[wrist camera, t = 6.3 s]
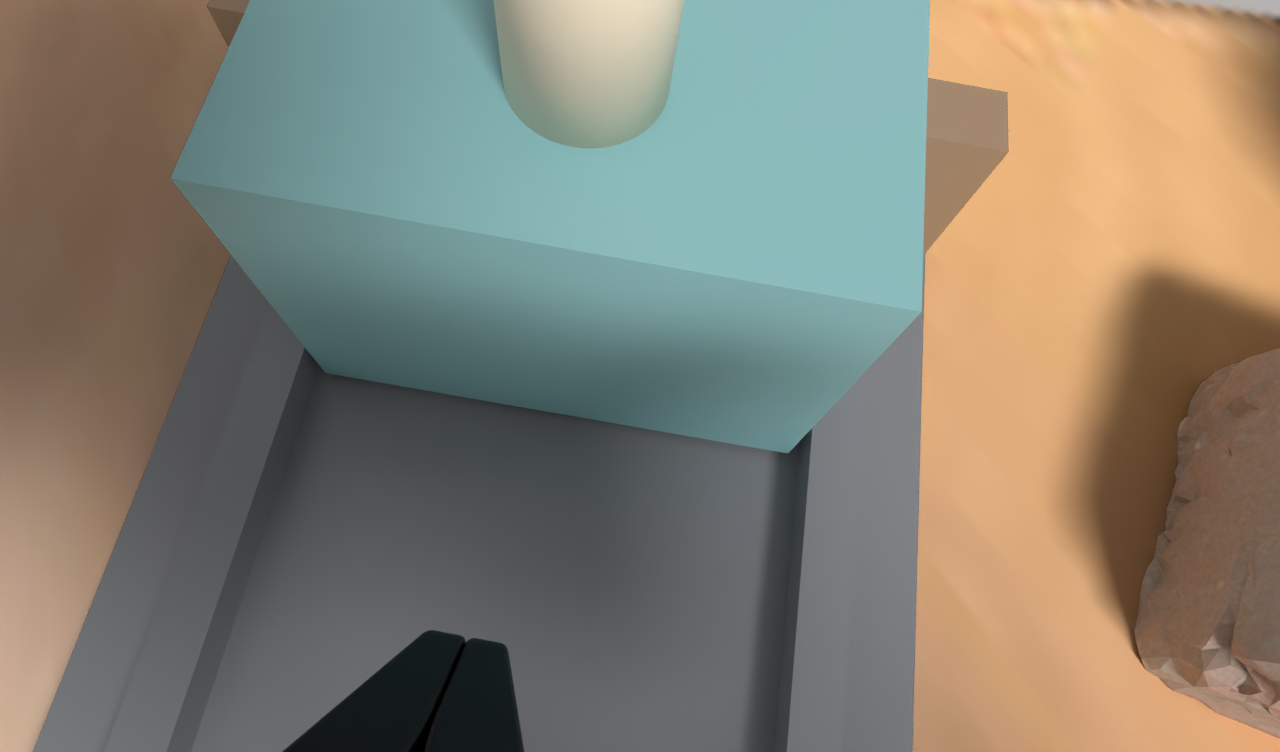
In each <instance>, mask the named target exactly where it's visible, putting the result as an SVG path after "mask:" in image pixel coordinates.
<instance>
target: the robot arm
mask: <svg viewBox="0 0 1280 752" xmlns="http://www.w3.org/2000/svg"><path fill="white" fill-rule="evenodd" d="M282 752H524V746H523V740H522V733H521V727H520V721H519V714H518V708H517V702H516V696H515V689H514V683H513V677H512V671H511V664H510V658H509V652H508V648H507V647H506V645H505V644H503V643H499V642H494V641H489V640H483V639H478V638H471V639H469V640H468V641H467V642H466V640H465V638H464V637H463V636H461V635H457V634H452V633H446V632H441V631H436V630H428V631H426V632H424V633H422V634H421V635H420V636H419V637H418V638H416V639H415V640H414V641H413V642H412V643H410V644H409V645H408V646H407V647H406V648H405V649H403V650H402V651H401V652H400V653H399V654H397V655H396V656H395V657H394V658H393V659H391V660H390V661H389V662H388V663H387V664H385V665H384V666H383V667H382V668H381V669H380V670H378V671H377V672H376V673H375V674H374V675H372V676H371V677H370V678H369V679H368V680H366V681H365V682H364V683H363V684H362V685H361V686H359V687H358V688H357V689H356V690H355V691H353V692H352V693H351V694H350V695H349V696H347V697H346V698H345V699H344V700H343V701H342V702H340V703H339V704H338V705H337V706H336V707H334V708H333V709H332V710H331V711H330V712H328V713H327V714H326V715H325V716H324V717H322V718H321V719H320V720H319V721H318V722H317V723H315V724H314V725H313V726H312V727H311V728H309V729H308V730H307V731H306V732H305V733H303V734H302V735H301V736H300V737H299V738H298V739H296V740H295V741H294V742H293V743H292V744H290V745H289V746H288V747H287V748H286V749H284V750H283V751H282Z"/></svg>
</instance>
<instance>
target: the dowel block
mask: <svg viewBox="0 0 1280 752" xmlns="http://www.w3.org/2000/svg"><path fill="white" fill-rule="evenodd" d="M929 18H930V0H250V2H249V4H248V6H247V8H246V11H245V13H244V15H243V17H242V20H241V22H240V24H239V26H238V28H237V31H236V33H235V35H234V37H233V40H232V42H231V44H230V46H229V48H228V51H227V53H226V55H225V57H224V60H223V62H222V64H221V66H220V68H219V71H218V73H217V75H216V77H215V80H214V82H213V84H212V86H211V88H210V91H209V93H208V95H207V97H206V100H205V102H204V104H203V106H202V108H201V111H200V113H199V115H198V117H197V120H196V122H195V124H194V126H193V128H192V131H191V133H190V135H189V137H188V140H187V142H186V144H185V146H184V148H183V151H182V153H181V155H180V157H179V160H178V162H177V164H176V166H175V168H174V171H173V173H172V175H171V177H170V179H171V180H172V181H173V183H174V184H175V185H176V187H177V188H178V189H179V190H180V192H181V193H182V194H183V195H184V197H185V198H186V199H187V200H188V202H189V203H190V204H191V205H192V207H193V208H194V209H195V210H196V212H197V213H198V214H199V215H200V217H201V218H202V219H203V220H204V222H205V223H206V224H207V225H208V227H209V228H210V229H211V230H212V232H213V233H214V234H215V235H216V237H217V238H218V239H219V240H220V242H221V243H222V244H223V245H224V247H225V248H226V249H227V250H228V252H229V253H230V254H231V255H232V257H233V258H234V259H235V260H236V262H237V263H238V264H239V265H240V267H241V268H242V269H243V270H244V272H245V273H246V274H247V275H248V277H249V278H250V279H251V280H252V282H253V283H254V284H255V285H256V287H257V288H258V289H259V290H260V292H261V293H262V294H263V295H264V297H265V298H266V299H267V300H268V302H269V303H270V304H271V305H272V307H273V308H274V309H275V310H276V312H277V313H278V314H279V315H280V317H281V318H282V319H283V320H284V322H285V323H286V324H287V325H288V327H289V328H290V329H291V330H292V332H293V333H294V334H295V335H296V337H297V338H298V339H299V341H300V342H301V343H302V344H303V346H304V347H305V348H306V349H307V351H308V352H309V353H310V354H311V356H312V357H313V358H314V359H315V361H316V362H317V363H318V364H319V366H320V367H321V368H322V369H323V371H324V372H325V373H328V374H333V375H339V376H345V377H351V378H356V379H362V380H368V381H374V382H379V383H385V384H391V385H397V386H402V387H408V388H414V389H420V390H425V391H431V392H437V393H443V394H448V395H454V396H460V397H466V398H471V399H477V400H483V401H489V402H494V403H500V404H506V405H512V406H517V407H523V408H529V409H535V410H540V411H546V412H552V413H558V414H563V415H569V416H575V417H581V418H586V419H592V420H598V421H604V422H610V423H615V424H621V425H627V426H633V427H638V428H644V429H650V430H656V431H661V432H667V433H673V434H679V435H684V436H690V437H696V438H702V439H707V440H713V441H719V442H725V443H730V444H736V445H742V446H748V447H753V448H759V449H765V450H771V451H776V452H782V453H789V452H790V451H791V450H792V449H793V448H794V447H795V446H796V445H797V444H798V442H799V441H800V440H801V439H802V438H803V437H804V436H805V435H806V434H807V433H808V432H809V431H810V430H811V429H812V428H813V427H814V425H815V424H816V423H817V422H818V421H819V420H820V419H821V418H822V417H823V416H824V415H825V414H826V413H827V412H828V411H829V410H830V409H831V407H832V406H833V405H834V404H835V403H836V402H837V401H838V400H839V399H840V398H841V397H842V396H843V395H844V394H845V393H846V392H847V390H848V389H849V388H850V387H851V386H852V385H853V384H854V383H855V382H856V381H857V380H858V379H859V378H860V377H861V376H862V375H863V373H864V372H865V371H866V370H867V369H868V368H869V367H870V366H871V365H872V364H873V363H874V362H875V361H876V360H877V359H878V358H879V356H880V355H881V354H882V353H883V352H884V351H885V350H886V349H887V348H888V347H889V346H890V345H891V344H892V343H893V342H894V341H895V340H896V338H897V337H898V336H899V335H900V334H901V333H902V332H903V331H904V330H905V329H906V328H907V327H908V326H909V325H910V324H911V323H912V321H913V320H914V319H915V318H916V317H917V316H918V315H919V314H920V313H921V312H922V277H923V240H924V203H925V166H926V129H927V92H928V55H929Z"/></svg>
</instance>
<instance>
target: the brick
mask: <svg viewBox="0 0 1280 752" xmlns="http://www.w3.org/2000/svg"><path fill="white" fill-rule="evenodd" d="M1177 439H1178V453H1177V459H1178V462H1179V463H1178V466H1177V468H1176V470H1175V472H1174V475H1175V478H1176V484H1175V486H1174V487H1173V491H1172V496H1171V500H1170V502H1169V504H1168V506H1167V509H1166V515H1167V520H1166V522H1165V530H1164V532H1163V533H1162V534H1160V535H1159V536H1158V540H1157V544H1156V549H1155V555H1154V559H1153V560H1152V562H1151V563H1150V564H1149V566H1148V568H1147V570H1146V573H1145V575H1144V578H1143V581H1142V584H1141V588H1140V599H1139V611H1138V615H1137V620H1136V625H1135V630H1134V633H1135V639H1136V644H1137V649H1138V653H1139V655H1140V658H1141V660H1142V663H1143V665H1144V668H1145V669H1146V670H1147V671H1148V672H1150V673H1152V674H1153V675H1155V676H1157V677H1159V678H1160V679H1161V681H1162V682H1163V683H1164V684H1165V685H1166V686H1167V687H1169V688H1170V689H1171V690H1173V691H1176V692H1179V693H1182V694H1184V695H1187V696H1190V697H1192V698H1195V699H1197V700H1199V701H1201V702H1203V703H1205V704H1206V705H1207V706H1208V707H1209V708H1211V709H1212V710H1213V711H1214V712H1216V713H1218V714H1220V715H1222V716H1225V717H1228V718H1230V719H1233V720H1236V721H1238V722H1240V723H1243V724H1245V725H1248V726H1250V727H1253V728H1255V729H1258V730H1260V731H1262V732H1265V733H1267V734H1270V735H1272V736H1275V737H1277V738H1280V348H1277V349H1274V350H1271V351H1267V352H1264V353H1261V354H1258V355H1254V356H1251V357H1248V358H1245V359H1244V360H1243V361H1242V362H1237V363H1234V364H1231V365H1228V366H1225V367H1223V368H1220V369H1219V370H1217V371H1215V372H1214V373H1213V374H1212V376H1210V377H1209V378H1207V379H1206V380H1205V381H1203V382H1202V383H1201V384H1200V385H1199V387H1198V389H1197V390H1196V392H1195V394H1194V396H1193V398H1192V400H1191V401H1190V403H1189V405H1188V414H1187V417H1185V418H1184V419H1183V420H1182V421H1181V423H1180V426H1179V429H1178V433H1177Z"/></svg>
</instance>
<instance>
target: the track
mask: <svg viewBox="0 0 1280 752" xmlns="http://www.w3.org/2000/svg"><path fill="white" fill-rule="evenodd" d="M249 2H250V0H210V1H209V3H208V5H207V8H208V9H209V11H210V13H211V15H212V17H213V19H214V21H215V22H216V24H217V26H218V28H219V30H220V32H221V34H222V35H223V37H224V39H225V41H226V43H227V45H228V46H230V44H231V42H232V40H233V37H234V35H235V33H236V31H237V28H238V26H239V24H240V22H241V20H242V17H243V15H244V13H245V11H246V8H247V6H248V4H249ZM1008 152H1009V151H1008V101H1007V92H1002V91H997V90H991V89H986V88H980V87H975V86H970V85H964V84H959V83H953V82H948V81H942V80H937V79H931V78H928V92H927V129H926V166H925V203H924V240H923V277H922V312H921V313H920V314H919V315H918V316H917V317H916V318H915V319H914V320H913V321H912V323H911V324H910V325H909V326H908V327H907V328H906V329H905V330H904V331H903V332H902V333H901V334H900V335H899V336H898V337H897V338H896V340H895V341H894V342H893V343H892V344H891V345H890V346H889V347H888V348H887V349H886V350H885V351H884V352H883V353H882V354H881V355H880V356H879V358H878V359H877V360H876V361H875V362H874V363H873V364H872V365H871V366H870V367H869V368H868V369H867V370H866V371H865V372H864V373H863V375H862V376H861V377H860V378H859V379H858V380H857V381H856V382H855V383H854V384H853V385H852V386H851V387H850V388H849V389H848V390H847V392H846V393H845V394H844V395H843V396H842V397H841V398H840V399H839V400H838V401H837V402H836V403H835V404H834V405H833V406H832V407H831V409H830V410H829V411H828V412H827V413H826V414H825V415H824V416H823V417H822V418H821V419H820V420H819V421H818V422H817V423H816V424H815V425H814V427H813V428H812V429H811V430H810V431H809V432H808V433H807V434H806V435H805V436H804V437H803V438H802V439H801V440H800V441H799V442H798V444H797V445H796V446H795V447H794V448H793V449H792V450H791V451H790V452H789V453H782V452H776V451H771V450H765V449H759V448H753V447H748V446H742V445H736V444H730V443H725V442H719V441H713V440H707V439H702V438H696V437H690V436H684V435H679V434H673V433H667V432H661V431H656V430H650V429H644V428H638V427H633V426H627V425H621V424H615V423H610V422H604V421H598V420H592V419H586V418H581V417H575V416H569V415H563V414H558V413H552V412H546V411H540V410H535V409H529V408H523V407H517V406H512V405H506V404H500V403H494V402H489V401H483V400H477V399H471V398H466V397H460V396H454V395H448V394H443V393H437V392H431V391H425V390H420V389H414V388H408V387H402V386H397V385H391V384H385V383H379V382H374V381H368V380H362V379H356V378H351V377H345V376H339V375H333V374H328V373H325V372H324V371H323V369H322V368H321V367H320V366H319V364H318V363H317V362H316V361H315V359H314V358H313V357H312V356H311V354H310V353H309V352H308V351H307V349H306V348H305V347H304V346H303V344H302V343H301V342H300V341H299V339H298V338H297V337H296V335H295V334H294V333H293V332H292V330H291V329H290V328H289V327H288V325H287V324H286V323H285V322H284V320H283V319H282V318H281V317H280V315H279V314H278V313H277V312H276V310H275V309H274V308H273V307H272V305H271V304H270V303H269V302H268V300H267V299H266V298H265V297H264V295H263V294H262V293H261V292H260V290H259V289H258V288H257V287H256V285H255V284H254V283H253V282H252V280H251V279H250V278H249V277H248V275H247V274H246V273H245V272H244V270H243V269H242V268H241V267H240V265H239V264H238V263H237V262H236V260H235V259H234V258H233V257H232V255H231V256H230V258H229V261H228V263H227V266H226V268H225V271H224V273H223V276H222V278H221V281H220V283H219V286H218V288H217V291H216V293H215V296H214V298H213V301H212V303H211V306H210V308H209V311H208V313H207V316H206V318H205V321H204V323H203V326H202V328H201V331H200V334H199V336H198V339H197V341H196V344H195V346H194V349H193V351H192V354H191V356H190V359H189V361H188V364H187V366H186V369H185V371H184V374H183V376H182V379H181V381H180V384H179V386H178V389H177V391H176V394H175V396H174V399H173V401H172V404H171V406H170V409H169V411H168V414H167V416H166V419H165V421H164V424H163V426H162V429H161V431H160V434H159V436H158V439H157V441H156V444H155V446H154V449H153V451H152V454H151V456H150V459H149V461H148V464H147V466H146V469H145V471H144V474H143V476H142V479H141V482H140V484H139V487H138V489H137V492H136V494H135V497H134V499H133V502H132V504H131V507H130V509H129V512H128V514H127V517H126V519H125V522H124V524H123V527H122V529H121V532H120V534H119V537H118V539H117V542H116V544H115V547H114V549H113V552H112V554H111V557H110V559H109V562H108V564H107V567H106V569H105V572H104V574H103V577H102V579H101V582H100V584H99V587H98V589H97V592H96V594H95V597H94V599H93V602H92V604H91V607H90V609H89V612H88V614H87V617H86V619H85V622H84V624H83V627H82V630H81V632H80V635H79V637H78V640H77V642H76V645H75V647H74V650H73V652H72V655H71V657H70V660H69V662H68V665H67V667H66V670H65V672H64V675H63V677H62V680H61V682H60V685H59V687H58V690H57V692H56V695H55V697H54V700H53V702H52V705H51V707H50V710H49V712H48V715H47V717H46V720H45V722H44V725H43V727H42V730H41V732H40V735H39V737H38V740H37V742H36V745H35V747H34V750H33V752H282V751H283V750H284V749H286V748H287V747H288V746H289V745H290V744H292V743H293V742H294V741H295V740H296V739H298V738H299V737H300V736H301V735H302V734H303V733H305V732H306V731H307V730H308V729H309V728H311V727H312V726H313V725H314V724H315V723H317V722H318V721H319V720H320V719H321V718H322V717H324V716H325V715H326V714H327V713H328V712H330V711H331V710H332V709H333V708H334V707H336V706H337V705H338V704H339V703H340V702H342V701H343V700H344V699H345V698H346V697H347V696H349V695H350V694H351V693H352V692H353V691H355V690H356V689H357V688H358V687H359V686H361V685H362V684H363V683H364V682H365V681H366V680H368V679H369V678H370V677H371V676H372V675H374V674H375V673H376V672H377V671H378V670H380V669H381V668H382V667H383V666H384V665H385V664H387V663H388V662H389V661H390V660H391V659H393V658H394V657H395V656H396V655H397V654H399V653H400V652H401V651H402V650H403V649H405V648H406V647H407V646H408V645H409V644H410V643H412V642H413V641H414V640H415V639H416V638H418V637H419V636H420V635H421V634H422V633H424V632H426V631H428V630H436V631H441V632H446V633H452V634H457V635H461V636H463V637H464V638H465V640H466V642H467V641H468V640H469V639H471V638H478V639H483V640H489V641H494V642H499V643H503V644H505V645H506V647H507V648H508V652H509V658H510V664H511V671H512V677H513V683H514V689H515V696H516V702H517V708H518V714H519V721H520V727H521V733H522V740H523V746H524V752H912V745H913V706H914V668H915V629H916V591H917V552H918V513H919V475H920V436H921V397H922V359H923V320H924V281H925V253H926V252H927V250H928V249H929V248H930V247H931V246H932V244H933V243H934V242H935V241H936V239H937V238H938V237H939V236H940V235H941V233H942V232H943V231H944V230H945V229H946V227H947V226H948V225H949V224H950V222H951V221H952V220H953V219H954V218H955V216H956V215H957V214H958V213H959V211H960V210H961V209H962V208H963V207H964V205H965V204H966V203H967V202H968V201H969V199H970V198H971V197H972V196H973V194H974V193H975V192H976V191H977V190H978V188H979V187H980V186H981V185H982V183H983V182H984V181H985V180H986V179H987V177H988V176H989V175H990V174H991V173H992V171H993V170H994V169H995V168H996V166H997V165H998V164H999V163H1000V162H1001V160H1002V159H1003V158H1004V157H1005V156H1006V154H1007V153H1008Z"/></svg>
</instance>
